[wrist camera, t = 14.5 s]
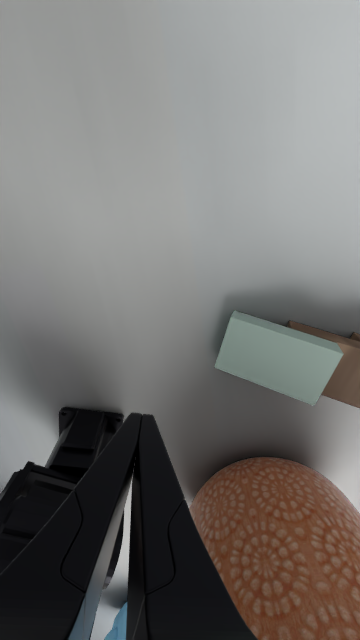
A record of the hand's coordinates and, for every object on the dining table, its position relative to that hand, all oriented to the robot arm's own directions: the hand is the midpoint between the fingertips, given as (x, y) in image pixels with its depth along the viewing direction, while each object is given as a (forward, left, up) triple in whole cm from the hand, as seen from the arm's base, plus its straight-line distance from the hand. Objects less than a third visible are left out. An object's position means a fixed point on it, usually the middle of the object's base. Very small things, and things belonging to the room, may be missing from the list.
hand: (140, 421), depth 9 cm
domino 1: (-2, -6, -12) cm, 14 cm away
